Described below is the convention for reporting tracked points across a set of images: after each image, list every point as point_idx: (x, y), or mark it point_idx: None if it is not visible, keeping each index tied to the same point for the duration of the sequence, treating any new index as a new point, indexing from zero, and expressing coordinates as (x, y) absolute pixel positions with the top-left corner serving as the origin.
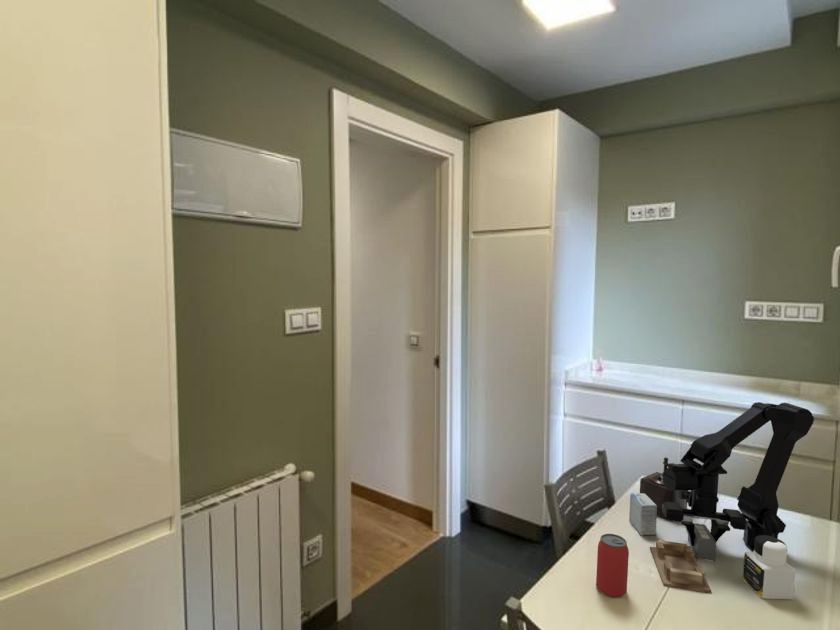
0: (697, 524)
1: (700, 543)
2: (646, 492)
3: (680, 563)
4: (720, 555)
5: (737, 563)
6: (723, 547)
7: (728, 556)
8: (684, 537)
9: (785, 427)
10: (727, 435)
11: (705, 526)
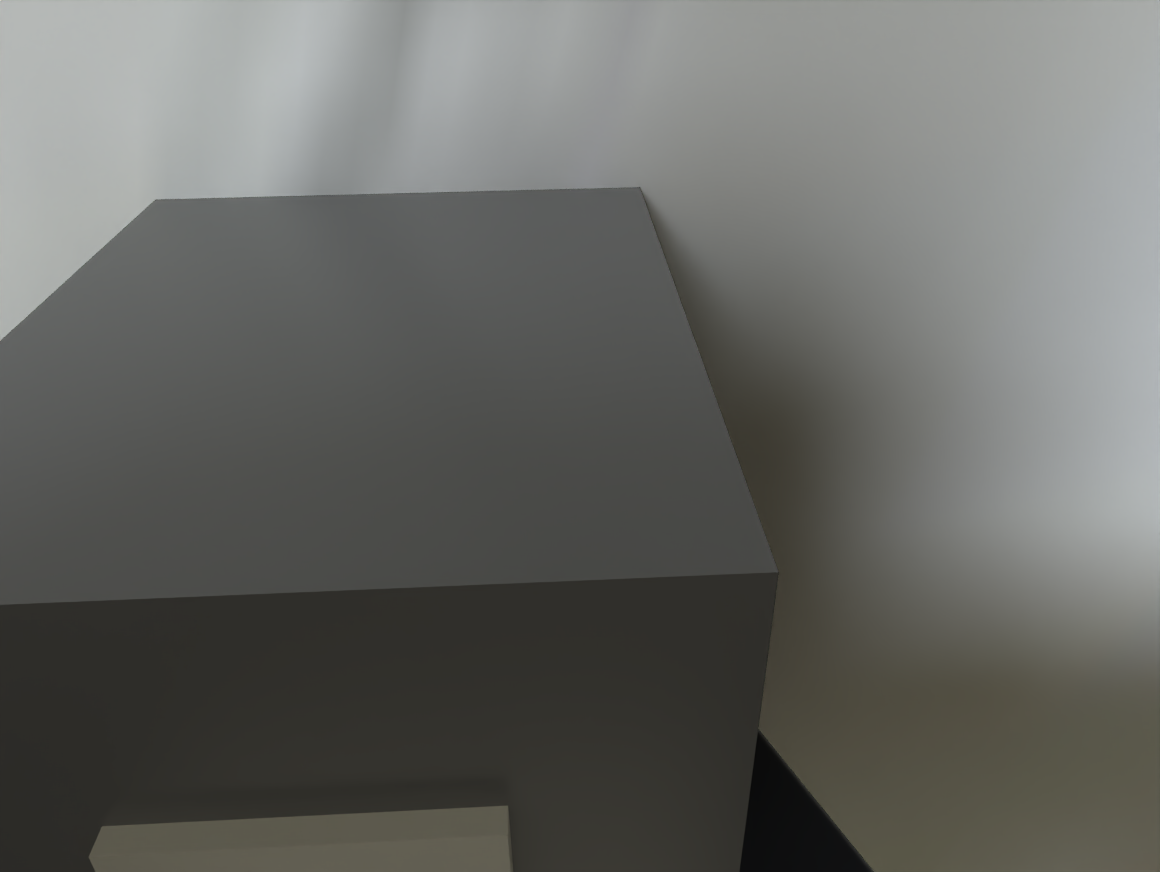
0: (272, 669)
1: None
2: None
3: None
4: (815, 672)
5: (1007, 813)
6: (1093, 319)
7: (971, 662)
8: (44, 23)
9: None
10: None
11: (707, 745)
